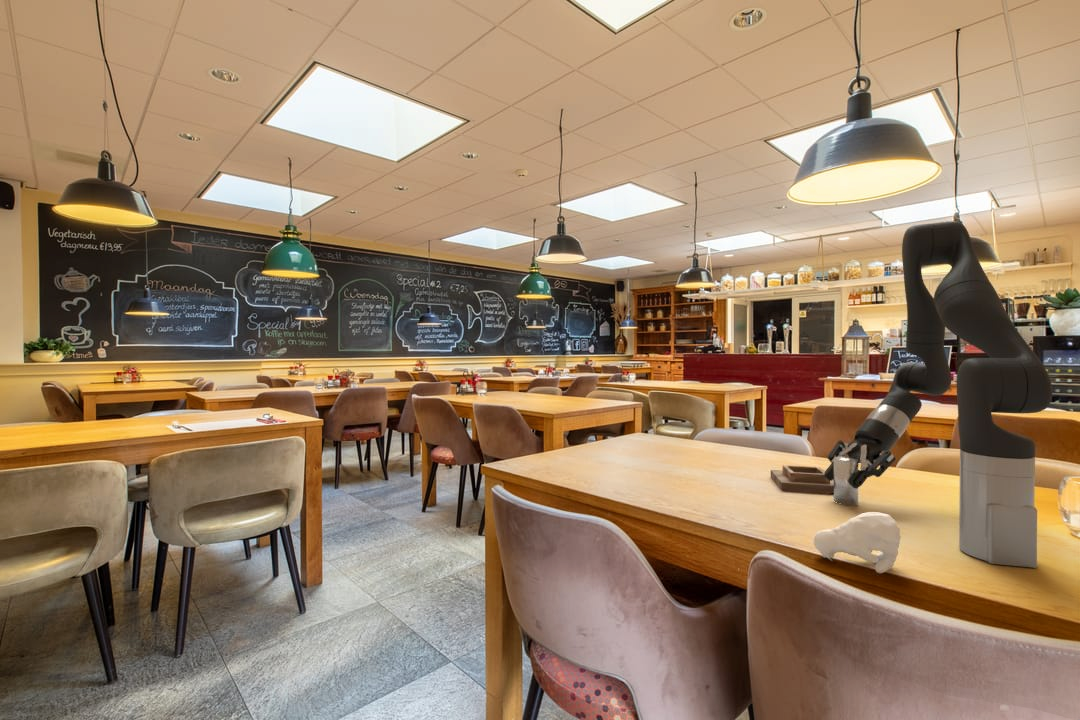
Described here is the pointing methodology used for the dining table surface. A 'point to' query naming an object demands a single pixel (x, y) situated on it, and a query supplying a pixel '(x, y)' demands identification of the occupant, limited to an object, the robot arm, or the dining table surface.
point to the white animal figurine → (863, 539)
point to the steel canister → (845, 480)
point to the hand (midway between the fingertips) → (839, 481)
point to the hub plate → (802, 479)
